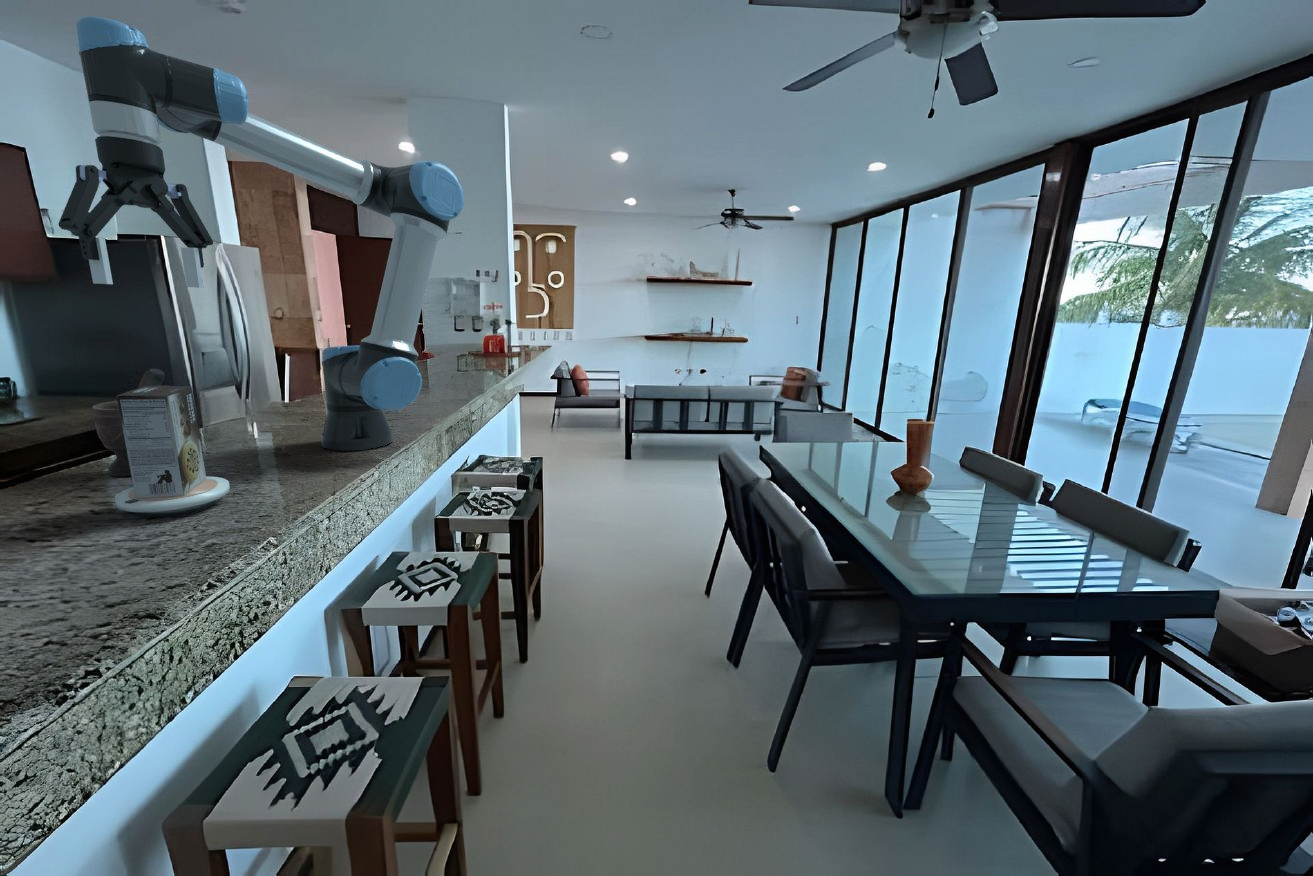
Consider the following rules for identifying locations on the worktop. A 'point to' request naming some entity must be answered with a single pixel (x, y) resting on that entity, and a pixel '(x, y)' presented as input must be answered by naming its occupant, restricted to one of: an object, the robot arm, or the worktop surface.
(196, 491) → the turntable platter
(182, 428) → the coffee box
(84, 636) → the worktop surface
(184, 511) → the turntable base
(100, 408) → the mortar and pestle
